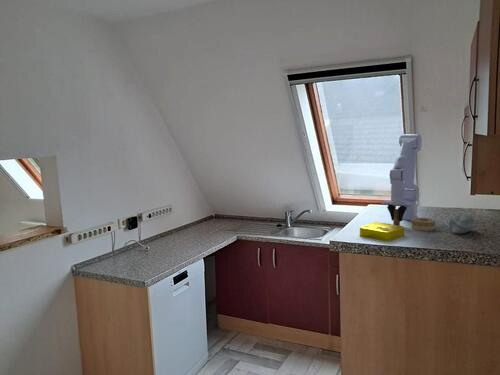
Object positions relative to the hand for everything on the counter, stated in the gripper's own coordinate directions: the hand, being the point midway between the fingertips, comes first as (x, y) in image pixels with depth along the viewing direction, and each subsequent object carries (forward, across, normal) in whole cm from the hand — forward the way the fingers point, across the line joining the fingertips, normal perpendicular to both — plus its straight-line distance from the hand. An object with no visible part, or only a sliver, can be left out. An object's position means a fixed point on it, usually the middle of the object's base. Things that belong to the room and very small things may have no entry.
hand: (396, 220), depth 202 cm
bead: (+2, +12, +2) cm, 12 cm away
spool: (+3, +28, +5) cm, 29 cm away
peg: (+2, 0, 0) cm, 2 cm away
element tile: (+3, +3, -22) cm, 23 cm away
